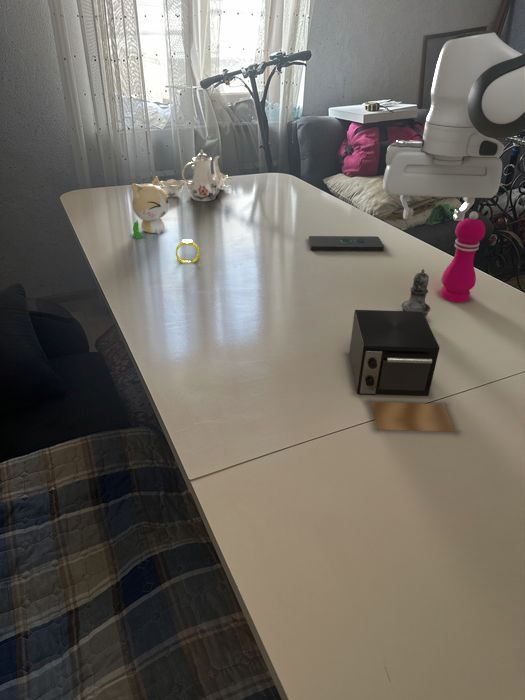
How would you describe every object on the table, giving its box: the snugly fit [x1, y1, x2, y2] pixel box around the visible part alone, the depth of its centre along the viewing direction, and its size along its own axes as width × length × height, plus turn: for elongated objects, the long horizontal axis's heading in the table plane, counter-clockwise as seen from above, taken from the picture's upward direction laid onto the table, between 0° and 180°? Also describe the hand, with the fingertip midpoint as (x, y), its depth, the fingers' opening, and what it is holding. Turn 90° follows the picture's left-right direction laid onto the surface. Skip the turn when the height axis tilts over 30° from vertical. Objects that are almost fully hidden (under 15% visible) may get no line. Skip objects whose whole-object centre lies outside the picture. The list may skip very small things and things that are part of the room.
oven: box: [348, 309, 441, 397], centre depth 88 cm, size 12×14×10 cm
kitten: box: [131, 175, 170, 239], centre depth 147 cm, size 15×10×15 cm
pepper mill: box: [440, 211, 486, 303], centre depth 112 cm, size 7×7×20 cm
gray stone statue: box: [400, 268, 431, 318], centre depth 105 cm, size 6×6×12 cm
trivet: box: [370, 401, 456, 433], centre depth 82 cm, size 12×7×1 cm, turn 88°
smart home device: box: [308, 235, 385, 252], centre depth 143 cm, size 8×2×20 cm
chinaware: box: [159, 149, 232, 202], centre depth 178 cm, size 28×17×17 cm, turn 130°
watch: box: [175, 238, 200, 264], centre depth 131 cm, size 6×3×6 cm, turn 98°
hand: (432, 219), depth 96 cm, fingers open, 8 cm apart
